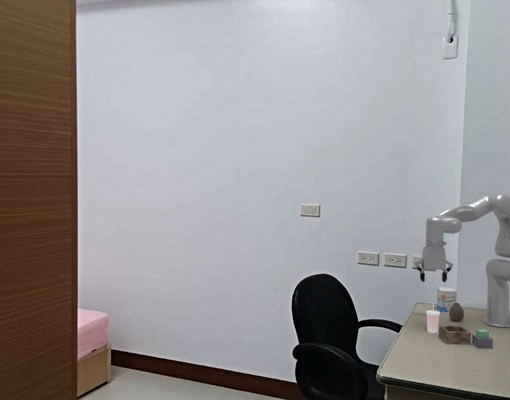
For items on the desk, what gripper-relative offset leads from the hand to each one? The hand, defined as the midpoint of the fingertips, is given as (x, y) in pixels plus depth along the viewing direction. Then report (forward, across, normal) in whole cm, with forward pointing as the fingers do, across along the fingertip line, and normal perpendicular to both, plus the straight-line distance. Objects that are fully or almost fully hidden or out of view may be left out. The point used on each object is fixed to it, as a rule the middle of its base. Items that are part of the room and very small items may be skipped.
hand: (433, 281), depth 228 cm
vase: (+23, -18, -19) cm, 35 cm away
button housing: (+23, -14, +20) cm, 34 cm away
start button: (+21, -14, +20) cm, 33 cm away
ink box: (+23, -21, -40) cm, 51 cm away
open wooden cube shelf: (+23, -5, +13) cm, 27 cm away
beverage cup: (+23, 0, 0) cm, 23 cm away
